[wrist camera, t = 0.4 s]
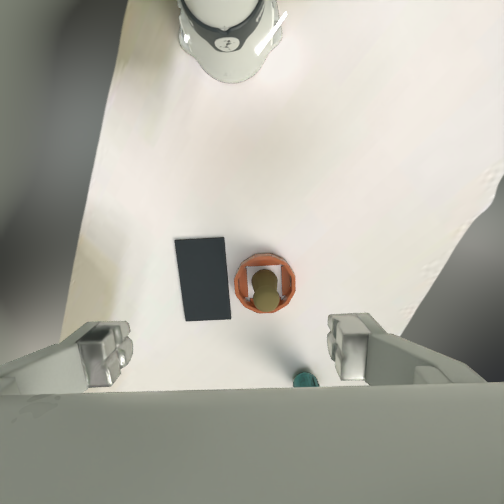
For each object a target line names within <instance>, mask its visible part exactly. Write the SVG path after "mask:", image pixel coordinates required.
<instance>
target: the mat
mask: <svg viewBox="0 0 504 504" xmlns="http://www.w3.org/2000/svg"><path fill="white" fill-rule="evenodd" d="M175 247H176V254H177V262H178V269H179V276H180V283H181V290H182V298H183V305H184V312H185V319H186V321H203V320H225V319H231V310H230V299H229V288H228V276H227V265H226V253H225V242H224V237H221V238H203V239H185V240H175Z"/></svg>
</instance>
